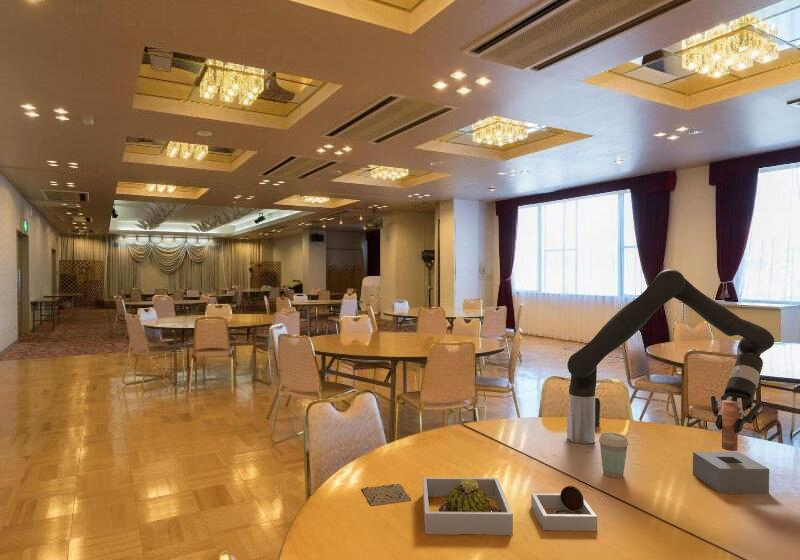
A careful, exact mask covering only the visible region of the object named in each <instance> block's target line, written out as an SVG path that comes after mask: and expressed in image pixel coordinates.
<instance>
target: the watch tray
mask: <svg viewBox="0 0 800 560" xmlns="http://www.w3.org/2000/svg"><path fill="white" fill-rule="evenodd" d="M530 496H531V499H530V503H531V509H532V511H533V512H534V514H535V516H536V518H537V520H538V522H539V524H540V526H541V528H542V530H543V531H574V532H575V531H576V532H577V531H579V532H580V531H581V532H583V531H585V532H586V531H587V532H588V531H594V532H598V516H597V514H596V513H595V512H594V510H593V509H592V508H591V506H590V505H589V504H588V502H587V501H586V500H585V499H584V497H583V499H584V504H583V506H582V508H581V509H579V510H578V512H579V514H576V513H574V514H552V513H547V512H546V510H545V509H567V508H566V507H565V506H564V505H563V503H562V501H561V493H551V492H550V493H544V492H543V493H537V492H536V493H534V492H531V495H530Z"/></svg>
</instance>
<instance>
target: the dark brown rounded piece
mask: <svg viewBox="0 0 800 560" xmlns="http://www.w3.org/2000/svg"><path fill="white" fill-rule="evenodd" d="M560 494H561V501H562V503H563V505H564V506H565V507H566V508H557V509H556V510H554V511H553V512H552V513H551V514H575V513H574V512H577V511H579V509H581V508H582V506H583V504H584V500H585V499H583V498H584V495H583V493H582V491H581V490H580V489H579V488H577V487H576V486H574V485H567V486H564V487H563V488H562V490H561V492H560Z"/></svg>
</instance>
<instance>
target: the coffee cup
mask: <svg viewBox="0 0 800 560" xmlns="http://www.w3.org/2000/svg"><path fill="white" fill-rule="evenodd" d="M598 442H599V449H600V456H601V457H600V458H601V466H602V474H603V475H604V476H605V477H608V478H613V479H621V478H623V477H624V473H625V465H626V458H627V450H628V446H629V441H628V439H627V437H626V436H625V435H623V434H621V433H617V432H603V433H601V434H600V436H599V438H598Z"/></svg>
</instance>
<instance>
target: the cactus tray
mask: <svg viewBox="0 0 800 560" xmlns="http://www.w3.org/2000/svg"><path fill="white" fill-rule="evenodd" d="M465 478H466V479H471V480H473V479H474V480H475V481H477V483H478V485H479V489H481V490H483V493H485V494H486V495H487V496H488V498H494V500H495V503H496V502H497V503H496V505H497V508H498V509H500V511H501V512H439V511H430V507H429V506H430V505H429V496H431V497H434V496H438V497H442V496H447V495H448V493H449V492H450V491H451V490H452V489H453V488H454V487H457V486H456V485H458V486H459V485H460V484H461V483H460V481H461V480H462V479H465ZM502 487H503V486H502V485H501V482H500V481H499V478H498V477H435V476H434V477H427V476H425V477H422V500H423V501H422V503H423V518H424V519H423V520H424V535H460V534H478V535H477V536H481V535H482V534H487V535H486V536H513V535H514V533H513V532H514V530H513V529H514V528H513V527H514V521H513V520H514V519H513V518H514V516H513V511H512V509H511V507H510V504H509V501H508V499H507V497H506V495H505V492H504V489H503V488H502ZM477 489H478V488H477ZM438 497H437V498H438ZM442 498H443V497H442ZM479 534H481V535H479ZM489 534H490V535H489ZM482 536H483V535H482Z"/></svg>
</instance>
